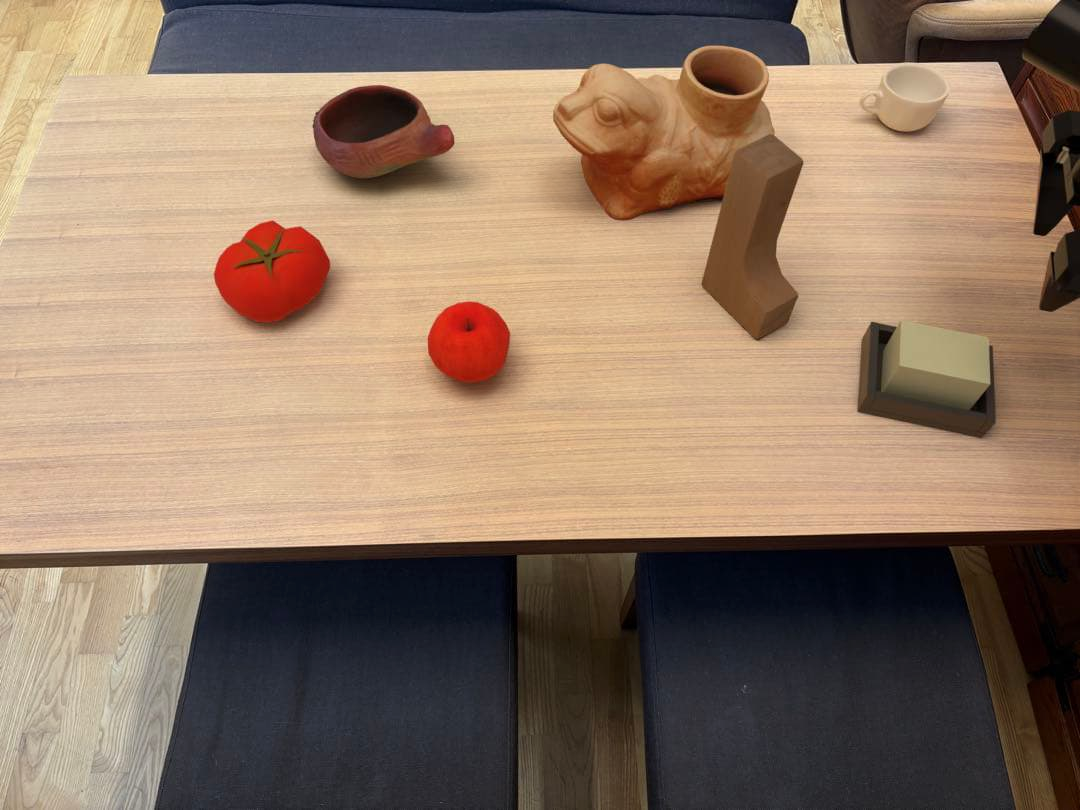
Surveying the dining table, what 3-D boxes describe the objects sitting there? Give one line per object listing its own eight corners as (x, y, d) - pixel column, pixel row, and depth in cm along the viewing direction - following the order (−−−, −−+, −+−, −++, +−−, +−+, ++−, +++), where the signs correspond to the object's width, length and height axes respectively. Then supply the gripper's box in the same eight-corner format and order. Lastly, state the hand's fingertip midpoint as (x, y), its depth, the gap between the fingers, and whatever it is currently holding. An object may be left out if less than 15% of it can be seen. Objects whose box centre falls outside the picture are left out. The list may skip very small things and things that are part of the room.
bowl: (316, 201, 96) (300, 144, 89) (325, 126, 103) (311, 68, 96) (458, 197, 97) (453, 140, 90) (458, 122, 104) (453, 65, 97)
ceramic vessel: (533, 158, 100) (534, 44, 88) (735, 115, 105) (763, 0, 92) (572, 240, 93) (579, 128, 80) (787, 190, 98) (825, 77, 85)
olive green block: (965, 368, 83) (988, 337, 79) (966, 414, 80) (990, 384, 76) (882, 351, 84) (901, 319, 80) (880, 395, 81) (899, 365, 77)
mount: (980, 362, 85) (993, 345, 82) (982, 438, 80) (996, 422, 77) (861, 338, 86) (871, 321, 84) (857, 411, 81) (866, 395, 79)
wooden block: (789, 322, 87) (843, 190, 72) (756, 341, 86) (804, 210, 71) (731, 267, 91) (771, 131, 76) (699, 285, 90) (733, 149, 75)
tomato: (209, 304, 88) (188, 261, 82) (283, 240, 93) (268, 195, 87) (279, 348, 85) (261, 306, 79) (351, 279, 90) (340, 235, 84)
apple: (519, 392, 82) (518, 346, 76) (437, 406, 81) (430, 361, 75) (503, 328, 86) (501, 280, 80) (426, 341, 85) (418, 293, 79)
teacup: (919, 97, 107) (936, 60, 102) (941, 138, 103) (960, 100, 98) (842, 103, 106) (856, 65, 102) (862, 143, 102) (877, 106, 98)
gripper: (1296, 238, 56) (1151, 373, 69) (1244, 68, 66) (1125, 215, 79) (1119, 206, 58) (1010, 345, 71) (1094, 45, 67) (1002, 193, 81)
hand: (1041, 270), depth 75 cm, fingers open, 9 cm apart
